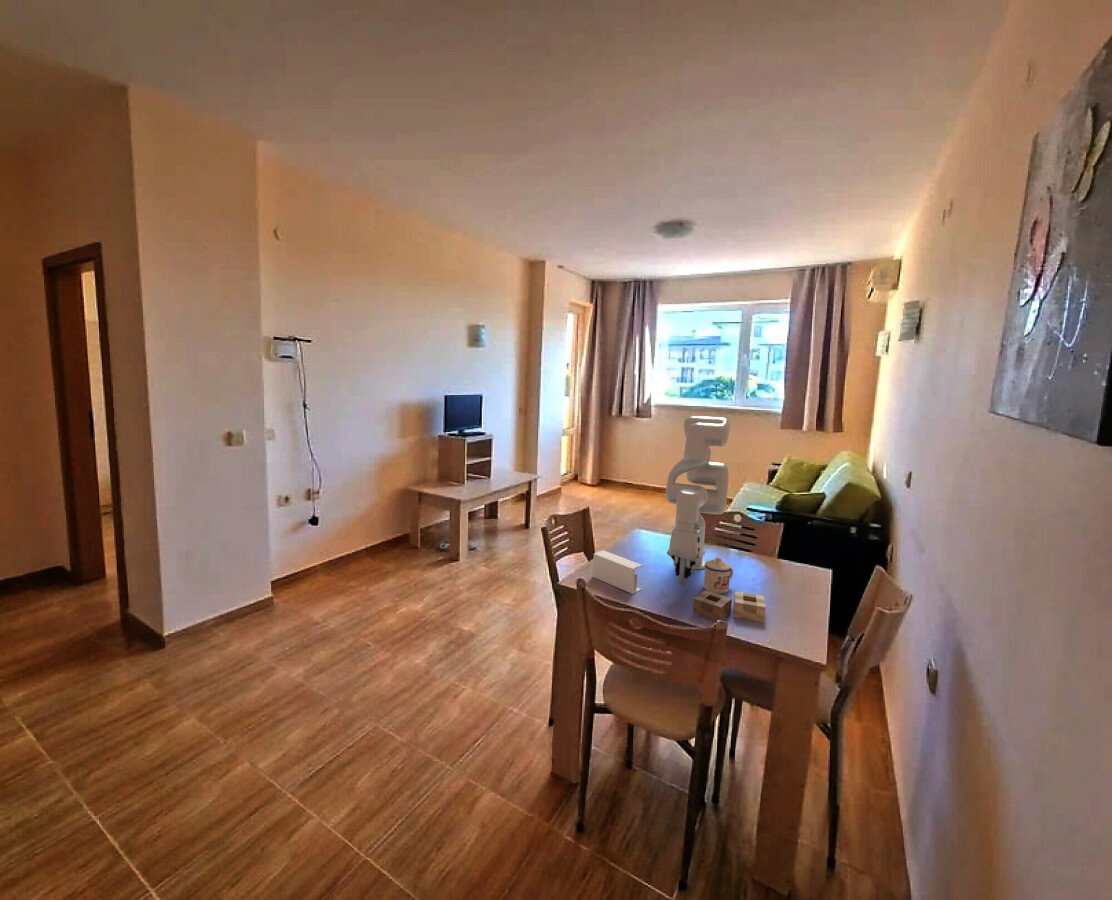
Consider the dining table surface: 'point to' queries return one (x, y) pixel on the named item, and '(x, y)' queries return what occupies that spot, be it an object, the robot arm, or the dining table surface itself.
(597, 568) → the white channel beam
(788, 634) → the dining table surface
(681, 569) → the needle dowel
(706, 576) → the teacup with lid
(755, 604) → the checkered wooden socket block
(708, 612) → the brown square-hole block
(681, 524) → the robot arm
